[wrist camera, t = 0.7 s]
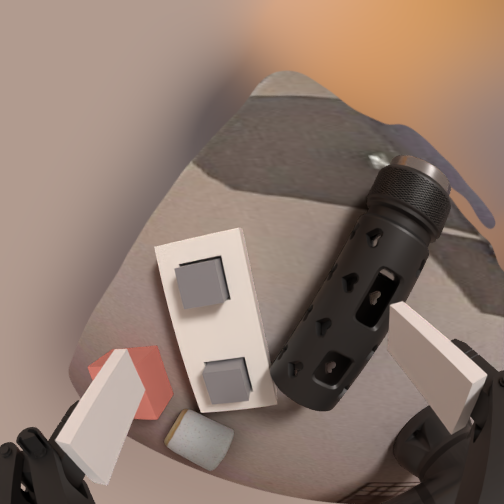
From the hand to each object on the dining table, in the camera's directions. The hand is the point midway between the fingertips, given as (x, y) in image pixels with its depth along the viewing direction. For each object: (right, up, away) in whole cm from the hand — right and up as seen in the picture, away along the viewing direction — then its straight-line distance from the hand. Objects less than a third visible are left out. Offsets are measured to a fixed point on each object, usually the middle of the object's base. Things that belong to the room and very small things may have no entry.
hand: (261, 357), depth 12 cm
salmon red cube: (-17, -13, +24) cm, 32 cm away
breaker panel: (-4, -4, +22) cm, 23 cm away
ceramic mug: (-8, -23, +24) cm, 34 cm away
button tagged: (-6, +2, +20) cm, 21 cm away
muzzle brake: (+13, +2, +21) cm, 25 cm away
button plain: (-3, -10, +20) cm, 23 cm away
